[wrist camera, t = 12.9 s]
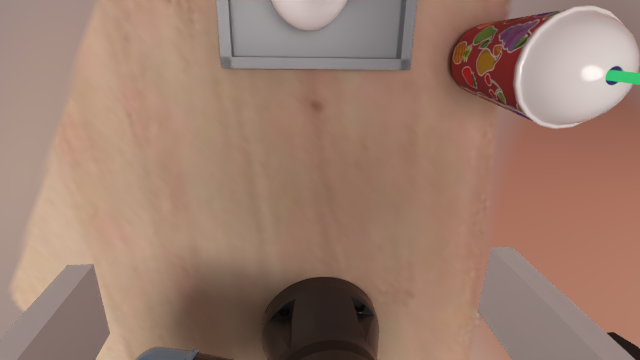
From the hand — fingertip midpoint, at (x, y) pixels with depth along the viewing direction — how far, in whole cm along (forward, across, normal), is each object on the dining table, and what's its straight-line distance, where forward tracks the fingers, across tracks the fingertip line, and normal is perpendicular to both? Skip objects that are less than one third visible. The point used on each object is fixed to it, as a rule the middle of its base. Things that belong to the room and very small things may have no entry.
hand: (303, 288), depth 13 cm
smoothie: (+29, -20, -6) cm, 36 cm away
